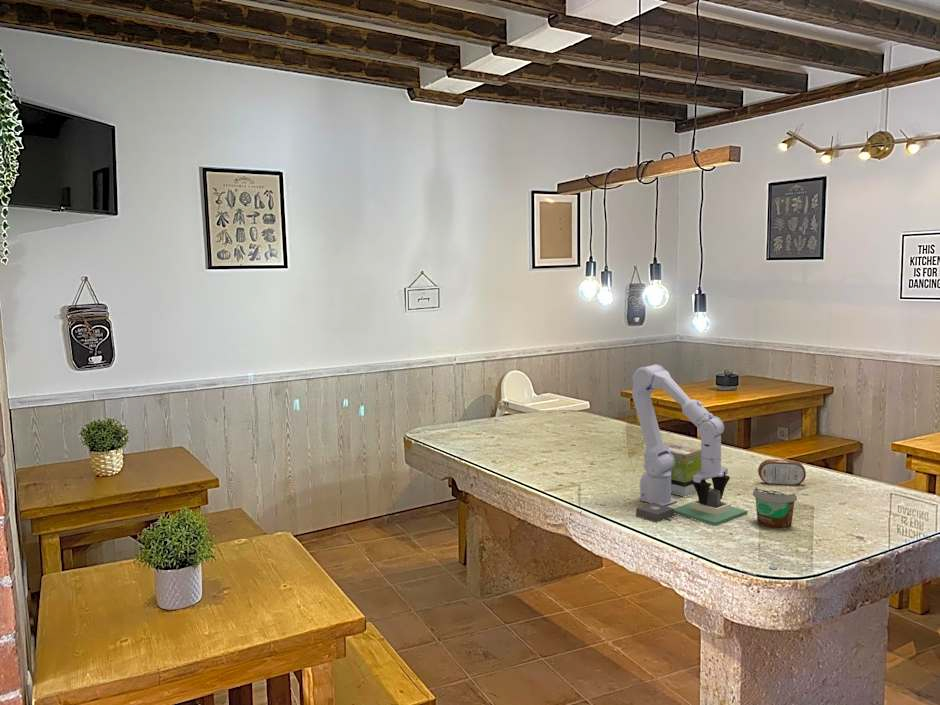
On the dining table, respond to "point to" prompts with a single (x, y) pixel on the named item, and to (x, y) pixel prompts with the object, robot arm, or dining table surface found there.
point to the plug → (713, 498)
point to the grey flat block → (655, 512)
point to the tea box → (684, 468)
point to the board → (710, 512)
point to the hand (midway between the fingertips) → (710, 501)
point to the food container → (774, 508)
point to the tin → (782, 472)
